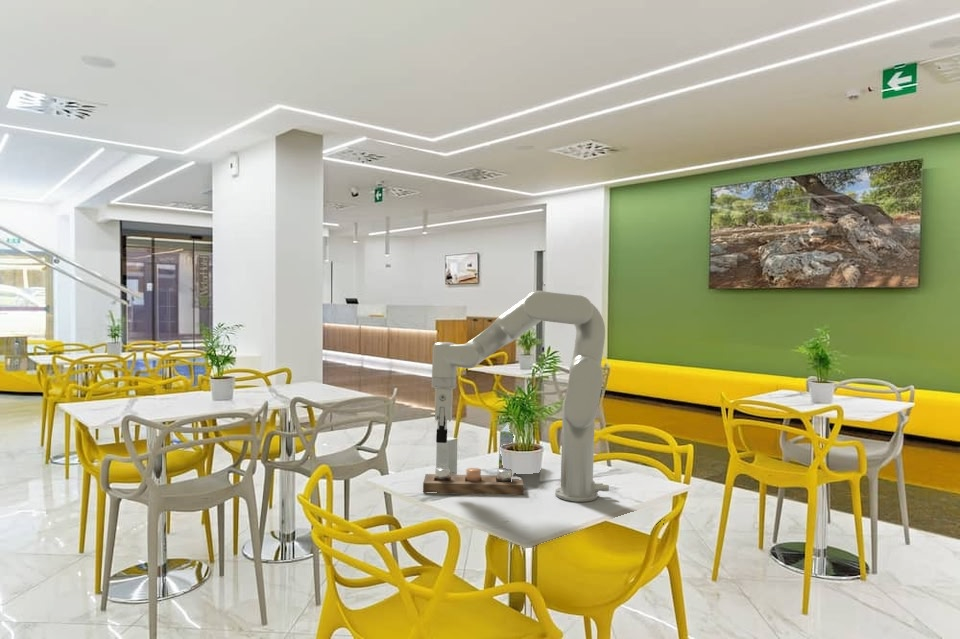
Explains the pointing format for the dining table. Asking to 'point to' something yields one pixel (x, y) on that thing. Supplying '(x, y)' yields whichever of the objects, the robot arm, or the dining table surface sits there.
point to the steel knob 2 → (504, 475)
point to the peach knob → (473, 475)
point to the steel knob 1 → (442, 474)
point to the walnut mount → (472, 485)
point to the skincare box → (447, 455)
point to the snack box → (504, 441)
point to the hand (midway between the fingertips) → (441, 442)
